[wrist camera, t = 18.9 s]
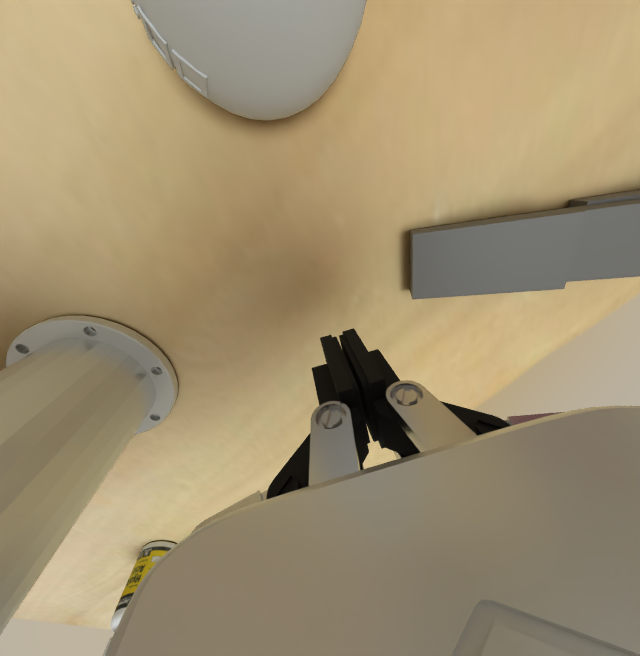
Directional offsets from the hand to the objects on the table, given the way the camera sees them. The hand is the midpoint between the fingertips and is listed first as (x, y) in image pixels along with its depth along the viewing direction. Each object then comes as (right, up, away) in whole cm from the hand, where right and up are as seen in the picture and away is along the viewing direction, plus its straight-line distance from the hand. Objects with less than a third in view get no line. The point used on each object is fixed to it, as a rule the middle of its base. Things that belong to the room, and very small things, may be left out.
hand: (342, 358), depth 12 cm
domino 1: (+6, +6, +8) cm, 12 cm away
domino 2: (+12, +7, +8) cm, 17 cm away
